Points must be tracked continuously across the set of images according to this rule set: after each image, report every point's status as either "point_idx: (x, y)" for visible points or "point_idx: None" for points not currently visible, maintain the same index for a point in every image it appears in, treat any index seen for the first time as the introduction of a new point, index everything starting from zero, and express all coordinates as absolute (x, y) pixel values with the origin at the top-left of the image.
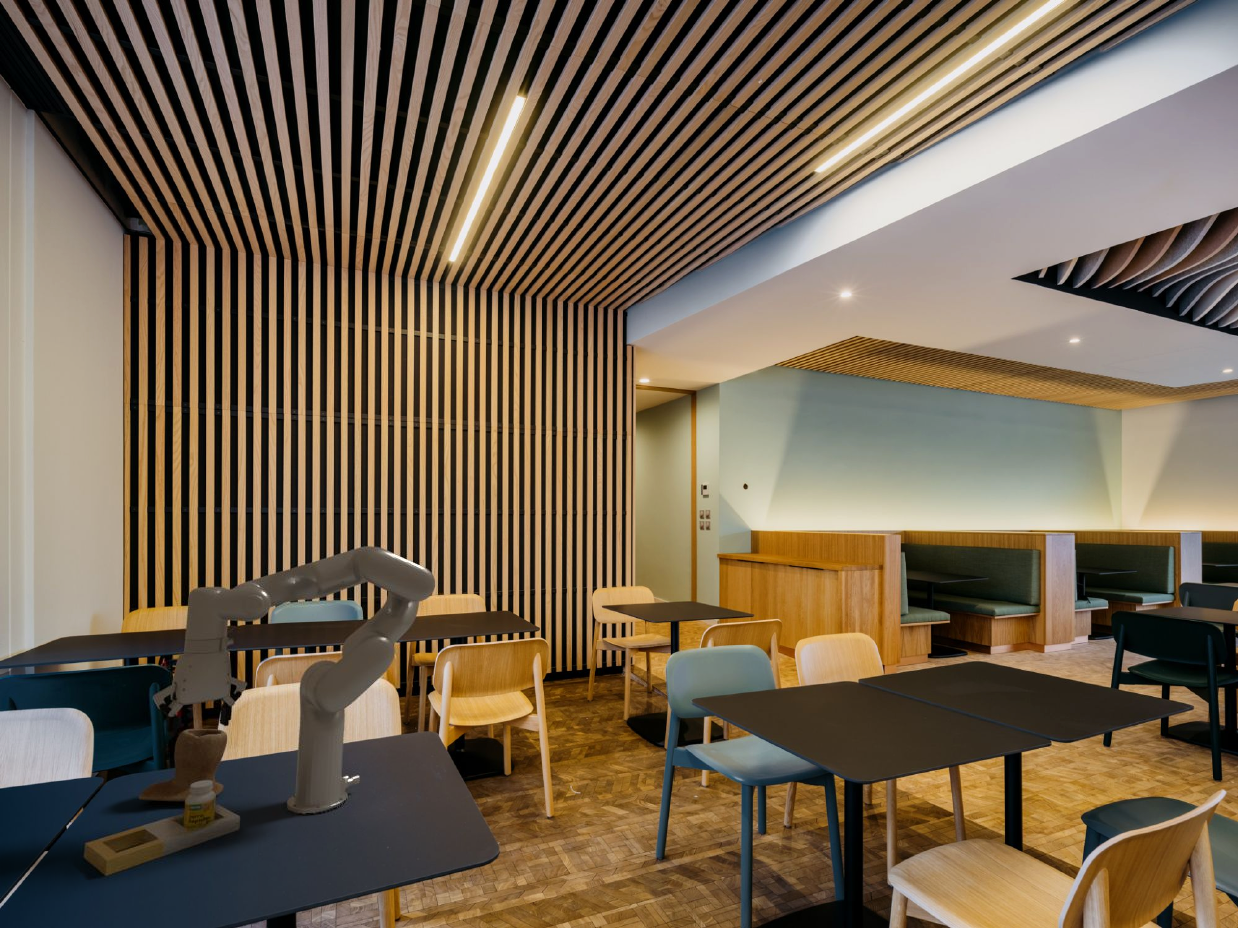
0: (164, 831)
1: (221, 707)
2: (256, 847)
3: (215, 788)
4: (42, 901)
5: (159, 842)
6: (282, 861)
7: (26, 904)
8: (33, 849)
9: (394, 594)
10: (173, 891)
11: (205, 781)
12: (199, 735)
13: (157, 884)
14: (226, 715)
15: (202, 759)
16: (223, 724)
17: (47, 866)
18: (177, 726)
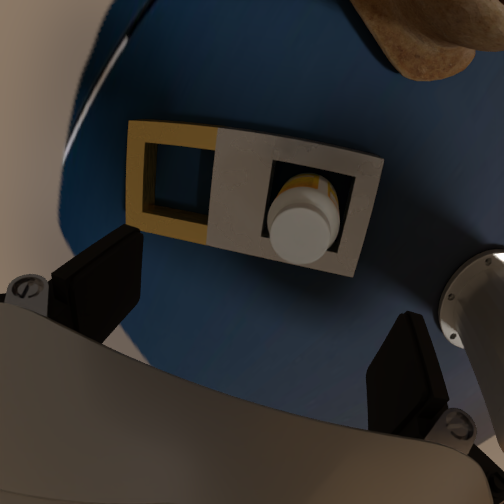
0: (230, 200)
1: (414, 392)
2: (310, 342)
3: (449, 65)
4: (78, 216)
5: (200, 240)
6: (294, 393)
7: (68, 207)
8: (120, 18)
9: None
10: (176, 337)
11: (316, 231)
12: None
13: (171, 306)
14: (371, 416)
15: (444, 30)
16: (375, 359)
17: (105, 105)
18: (117, 325)
